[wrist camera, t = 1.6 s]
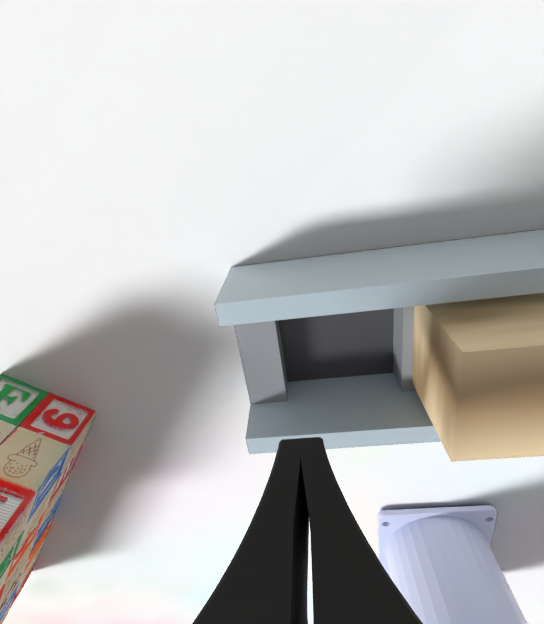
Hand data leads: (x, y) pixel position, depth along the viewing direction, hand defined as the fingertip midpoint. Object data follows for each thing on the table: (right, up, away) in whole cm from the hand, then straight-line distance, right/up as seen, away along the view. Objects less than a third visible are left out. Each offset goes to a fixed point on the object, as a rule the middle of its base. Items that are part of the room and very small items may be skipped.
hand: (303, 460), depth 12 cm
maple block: (+8, +4, +5) cm, 10 cm away
